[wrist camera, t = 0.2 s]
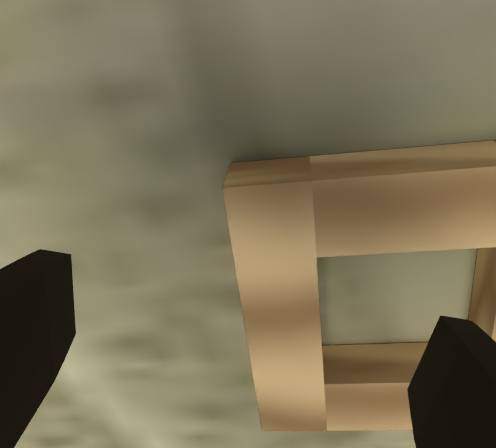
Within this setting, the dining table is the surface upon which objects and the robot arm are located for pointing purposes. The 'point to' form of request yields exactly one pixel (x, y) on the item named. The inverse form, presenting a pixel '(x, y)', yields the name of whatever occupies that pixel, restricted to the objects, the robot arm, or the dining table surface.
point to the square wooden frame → (346, 244)
